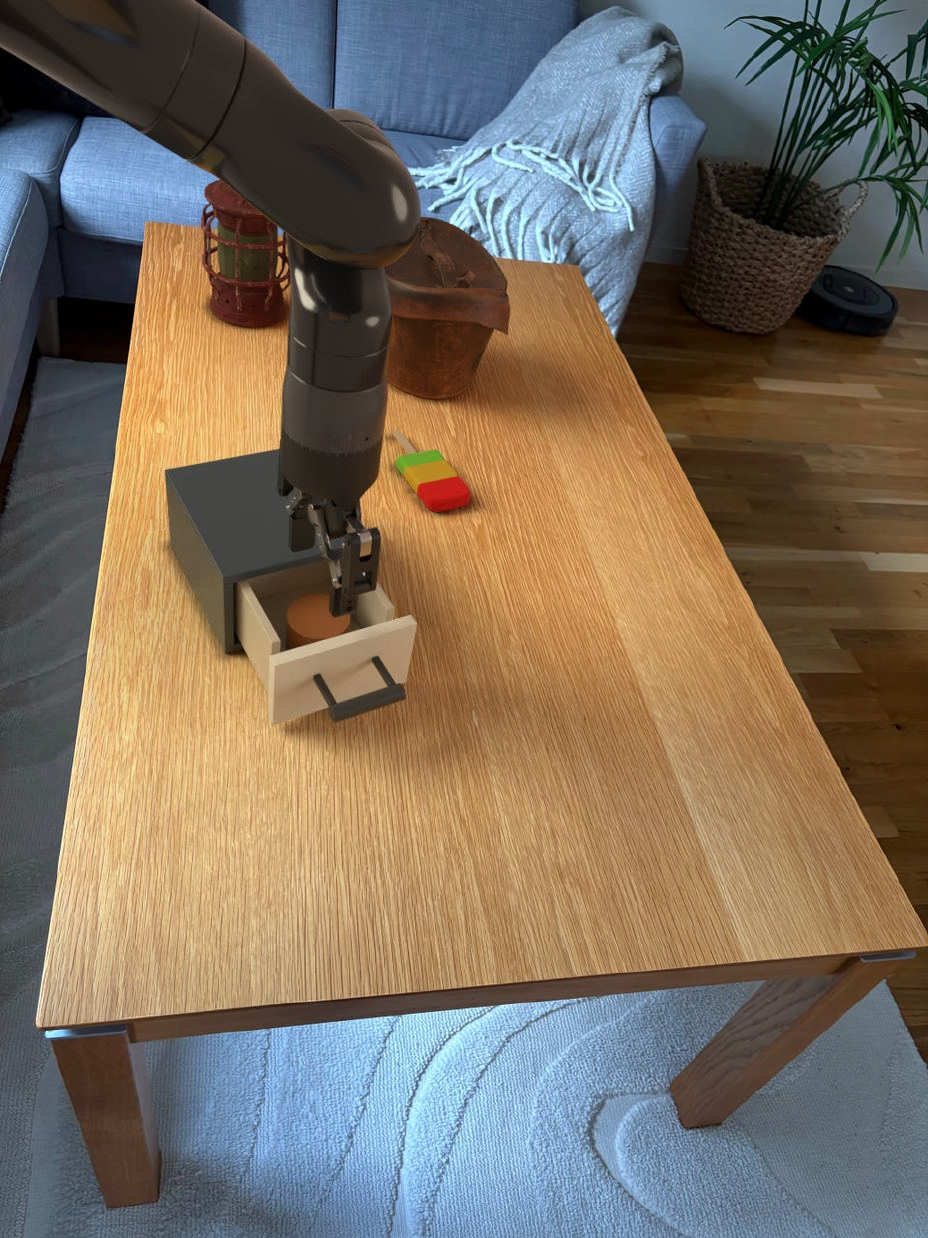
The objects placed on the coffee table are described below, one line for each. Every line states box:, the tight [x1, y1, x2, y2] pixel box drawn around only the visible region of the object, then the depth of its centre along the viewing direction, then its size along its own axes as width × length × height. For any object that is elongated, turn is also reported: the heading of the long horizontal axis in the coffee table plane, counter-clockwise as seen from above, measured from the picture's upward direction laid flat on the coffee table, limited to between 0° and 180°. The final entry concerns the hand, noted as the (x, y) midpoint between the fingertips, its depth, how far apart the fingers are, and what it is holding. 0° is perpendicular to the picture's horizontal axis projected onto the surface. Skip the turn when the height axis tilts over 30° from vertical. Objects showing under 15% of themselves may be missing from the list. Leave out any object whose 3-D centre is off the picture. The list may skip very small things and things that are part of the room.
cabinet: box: [164, 448, 345, 655], centre depth 90 cm, size 16×14×10 cm
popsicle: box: [392, 429, 471, 513], centre depth 110 cm, size 6×15×2 cm, turn 29°
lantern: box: [200, 179, 291, 329], centre depth 119 cm, size 12×12×30 cm
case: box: [385, 216, 511, 400], centre depth 119 cm, size 18×20×18 cm
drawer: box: [233, 557, 418, 726], centre depth 83 cm, size 20×13×8 cm
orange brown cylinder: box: [285, 594, 350, 651], centre depth 84 cm, size 6×6×4 cm
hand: (321, 579), depth 79 cm, fingers open, 8 cm apart
